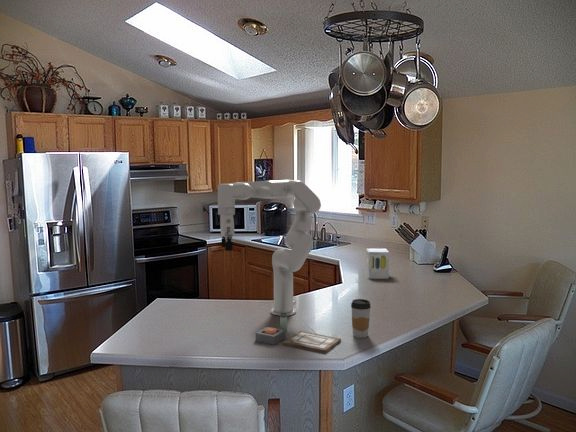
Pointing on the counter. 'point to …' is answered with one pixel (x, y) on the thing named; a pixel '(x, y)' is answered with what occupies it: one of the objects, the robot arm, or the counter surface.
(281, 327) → the sage green marker
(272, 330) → the button
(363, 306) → the coffee cup
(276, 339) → the button housing
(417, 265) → the counter surface
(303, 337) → the drawing board
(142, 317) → the counter surface
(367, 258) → the supplement box
